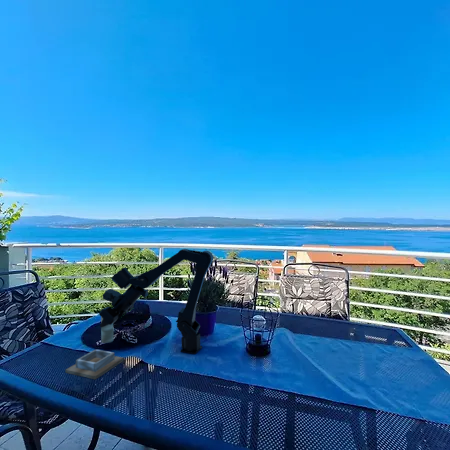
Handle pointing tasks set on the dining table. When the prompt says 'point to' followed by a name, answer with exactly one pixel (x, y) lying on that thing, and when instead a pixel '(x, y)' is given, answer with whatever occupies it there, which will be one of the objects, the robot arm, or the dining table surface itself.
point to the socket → (94, 364)
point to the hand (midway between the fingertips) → (104, 324)
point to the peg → (107, 333)
